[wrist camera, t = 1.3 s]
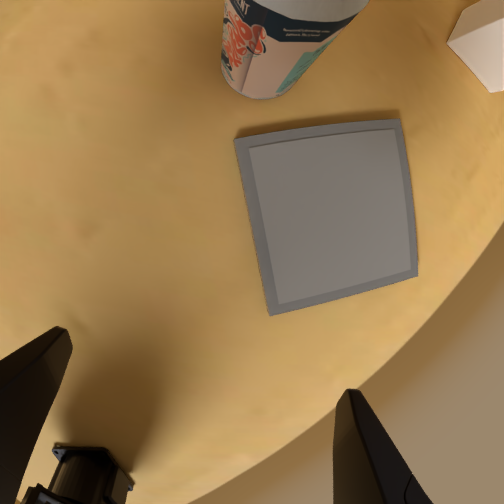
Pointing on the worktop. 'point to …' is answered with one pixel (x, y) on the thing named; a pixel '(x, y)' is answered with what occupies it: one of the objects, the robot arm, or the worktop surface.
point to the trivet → (329, 210)
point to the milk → (482, 42)
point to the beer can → (278, 40)
